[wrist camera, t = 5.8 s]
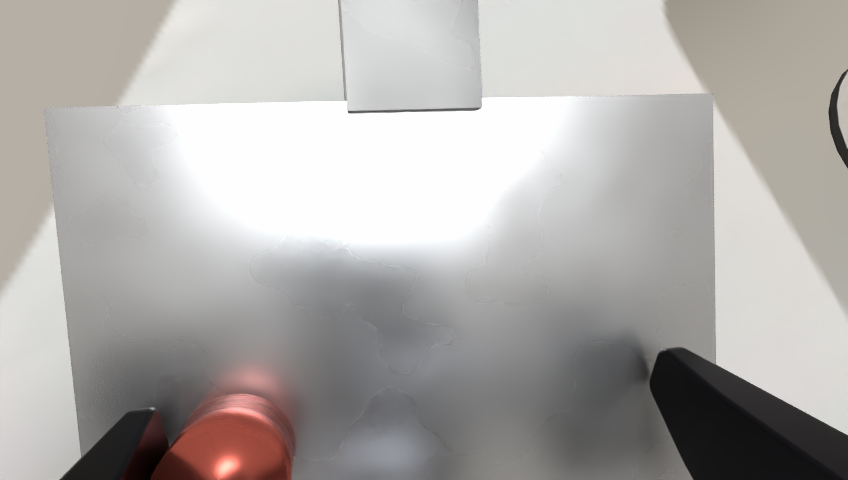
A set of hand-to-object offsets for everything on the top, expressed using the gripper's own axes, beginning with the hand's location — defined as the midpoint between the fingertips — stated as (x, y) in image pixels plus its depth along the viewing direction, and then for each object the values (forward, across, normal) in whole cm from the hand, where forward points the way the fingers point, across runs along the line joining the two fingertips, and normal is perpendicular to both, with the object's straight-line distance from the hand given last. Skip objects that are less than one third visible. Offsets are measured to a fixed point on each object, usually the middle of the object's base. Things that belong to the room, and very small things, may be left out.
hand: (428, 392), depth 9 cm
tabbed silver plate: (+2, 0, 0) cm, 2 cm away
